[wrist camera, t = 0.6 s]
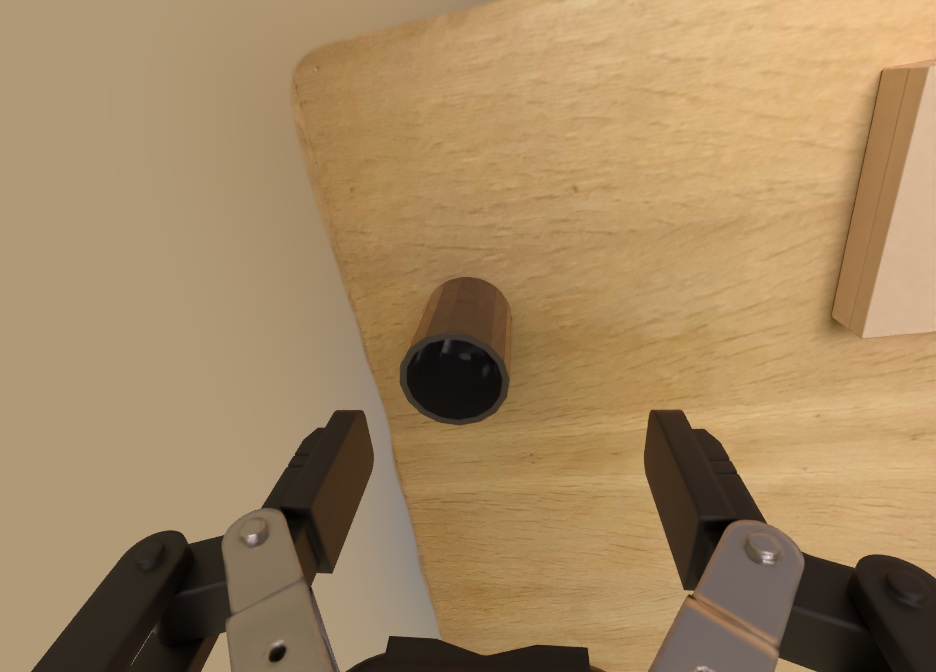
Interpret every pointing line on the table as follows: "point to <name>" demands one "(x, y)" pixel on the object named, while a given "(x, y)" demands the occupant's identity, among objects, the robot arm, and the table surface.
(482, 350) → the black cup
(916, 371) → the table surface
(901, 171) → the plate
